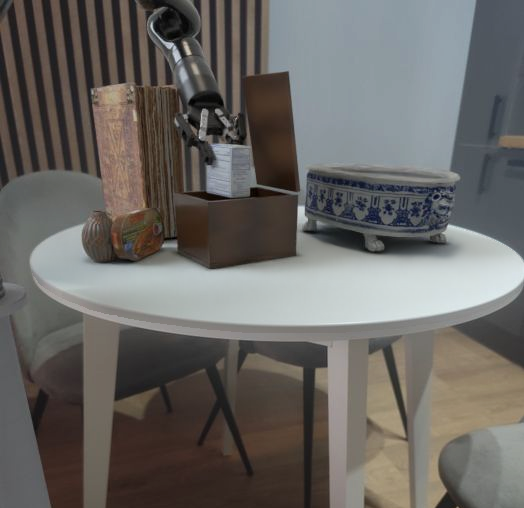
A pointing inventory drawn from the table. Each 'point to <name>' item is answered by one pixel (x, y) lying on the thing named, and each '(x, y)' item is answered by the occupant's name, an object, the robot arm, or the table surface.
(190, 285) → the table surface
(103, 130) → the book
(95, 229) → the vase
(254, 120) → the lid
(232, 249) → the chest
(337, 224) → the decorative bowl
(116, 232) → the tin
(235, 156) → the medicine box
